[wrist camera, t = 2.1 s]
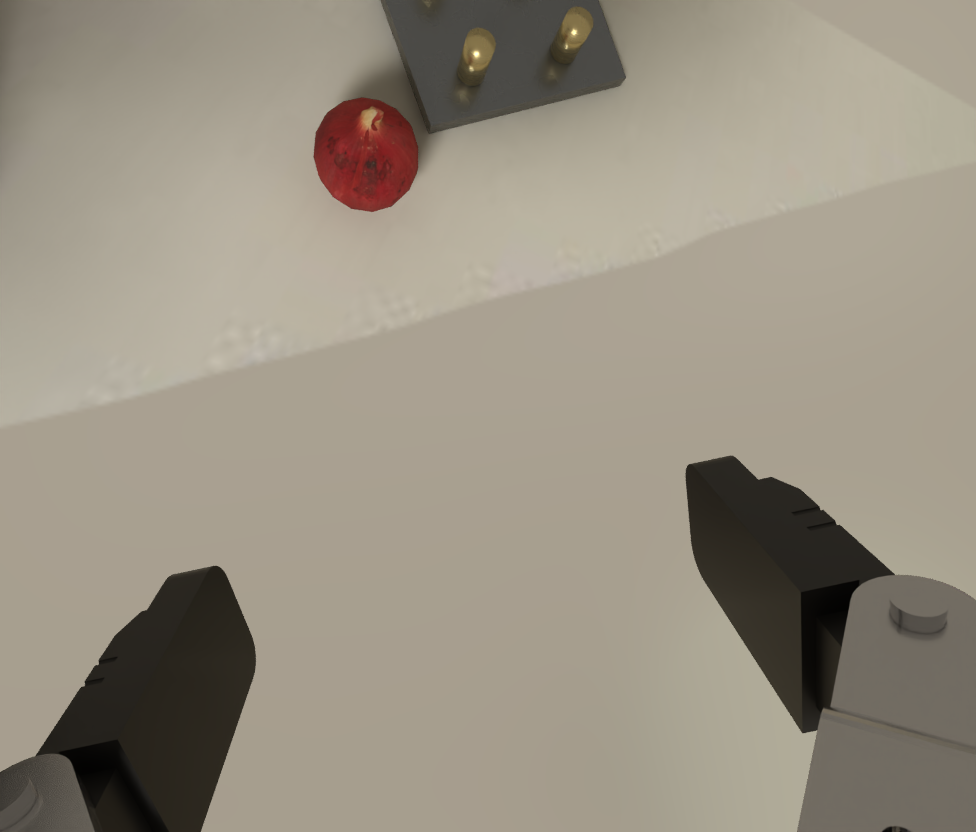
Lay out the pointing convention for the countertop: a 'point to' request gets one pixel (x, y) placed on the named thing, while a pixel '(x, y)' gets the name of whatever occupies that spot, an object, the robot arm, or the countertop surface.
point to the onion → (366, 154)
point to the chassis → (500, 55)
